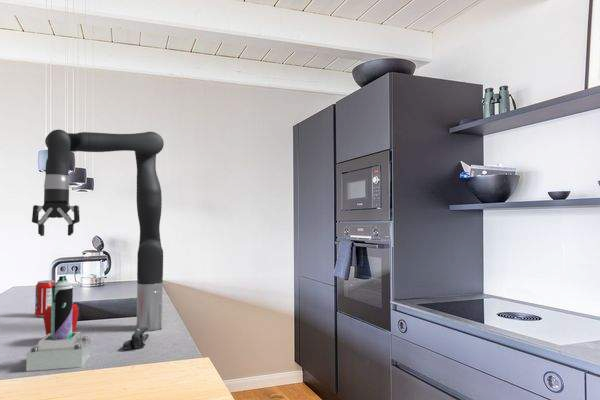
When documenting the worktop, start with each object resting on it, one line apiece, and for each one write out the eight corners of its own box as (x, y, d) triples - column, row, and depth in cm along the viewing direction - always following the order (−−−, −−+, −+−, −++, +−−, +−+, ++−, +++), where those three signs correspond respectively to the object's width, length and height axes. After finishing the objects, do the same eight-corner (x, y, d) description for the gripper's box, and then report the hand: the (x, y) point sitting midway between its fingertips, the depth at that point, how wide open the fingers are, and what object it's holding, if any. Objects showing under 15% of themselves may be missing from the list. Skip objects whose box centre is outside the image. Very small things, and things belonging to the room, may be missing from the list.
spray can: (62, 348, 127) (64, 277, 128) (46, 347, 128) (47, 277, 129) (75, 342, 132) (77, 275, 133) (59, 341, 133) (61, 274, 134)
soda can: (49, 318, 188) (49, 282, 189) (30, 317, 188) (31, 282, 189) (59, 314, 196) (60, 279, 197) (41, 314, 196) (42, 279, 197)
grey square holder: (90, 354, 137) (91, 329, 137) (81, 367, 126) (82, 340, 126) (40, 358, 134) (40, 332, 134) (26, 371, 122) (26, 343, 122)
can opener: (142, 351, 141) (143, 333, 141) (120, 352, 140) (120, 334, 141) (156, 336, 159) (156, 320, 159) (136, 337, 158) (136, 321, 158)
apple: (72, 335, 160) (73, 297, 160) (82, 341, 152) (83, 301, 153) (39, 341, 152) (40, 301, 153) (48, 347, 145) (49, 305, 146)
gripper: (81, 189, 158) (81, 235, 158) (37, 188, 155) (36, 235, 154) (76, 188, 151) (76, 235, 151) (30, 187, 148) (28, 236, 147)
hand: (55, 235), depth 152 cm, fingers open, 8 cm apart
